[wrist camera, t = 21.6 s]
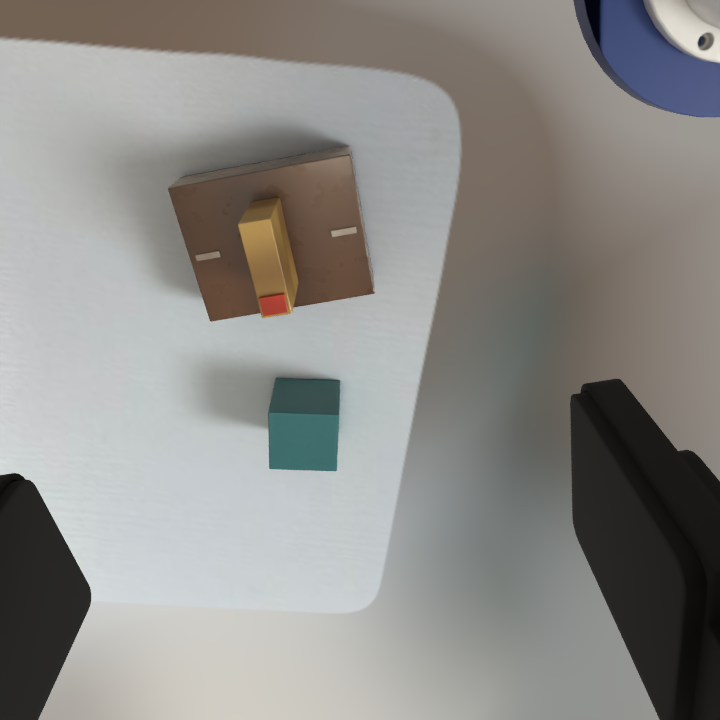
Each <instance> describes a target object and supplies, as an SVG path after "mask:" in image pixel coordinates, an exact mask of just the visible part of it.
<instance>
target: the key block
mask: <svg viewBox="0 0 720 720" xmlns="http://www.w3.org/2000/svg"><path fill="white" fill-rule="evenodd" d="M339 401H340V381H335V380H309V379H283V378H276V380H275V385H274V389H273V394H272V398H271V403H270V407H269V412H268V422H269V468H270V469H286V470H316V471H336V470H337V452H338V429H339Z"/></svg>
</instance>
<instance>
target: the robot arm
mask: <svg viewBox="0 0 720 720" xmlns="http://www.w3.org/2000/svg"><path fill="white" fill-rule="evenodd" d="M643 2H644V6H645V9H646V11H647V13H648V15H649V16H650V18H651V20H652V22H653V24H654V26H655V28H656V29H657V30H658V31H659V32H660V33H661V34H662V36H663V37H664V38H665V39H666V40H667V41H668V42H669V43H670V44H671V45H673V46H674V47H675V48H677V49H678V50H680V51H681V52H683V53H684V54H686V55H689V56H691V57H694V58H697V59H699V60H702V61H707V62H714V63H720V0H643ZM700 37H701V39H702V41H701V44H700V45H699V46H698V40H699V38H700ZM570 408H571V456H572V458H571V459H572V508H573V509H572V511H573V524H574V528H575V532H576V536H577V538H578V541H579V543H580V545H581V547H582V550H583V552H584V554H585V556H586V559H587V561H588V563H589V565H590V567H591V570H592V572H593V574H594V576H595V578H596V580H597V582H598V585H599V587H600V589H601V592H602V594H603V596H604V598H605V600H606V602H607V605H608V607H609V609H610V611H611V613H612V616H613V618H614V620H615V622H616V624H617V627H618V629H619V631H620V633H621V636H622V638H623V640H624V642H625V644H626V646H627V649H628V651H629V653H630V655H631V657H632V660H633V662H634V664H635V666H636V668H637V671H638V673H639V675H640V677H641V679H642V682H643V684H644V686H645V688H646V690H647V692H648V695H649V697H650V699H651V701H652V704H653V706H654V708H655V710H656V712H657V715H658V717H659V719H660V720H720V481H719V480H718V479H717V478H716V476H715V475H714V474H713V473H712V472H711V470H710V469H709V468H708V467H707V466H706V464H705V463H704V462H703V461H702V460H701V459H700V458H699V457H698V456H697V455H696V454H695V453H694V452H692V451H689V450H683V451H677V449H676V448H675V447H674V446H673V445H672V443H671V442H670V441H669V439H668V438H667V437H666V436H665V435H664V433H663V432H662V431H661V429H660V428H659V427H658V426H657V424H656V423H655V422H654V421H653V419H652V418H651V417H650V416H649V414H648V413H647V412H646V411H645V409H644V408H643V407H642V405H641V404H640V403H639V402H638V401H637V399H636V398H635V397H634V395H633V394H632V393H631V392H630V391H629V389H628V388H627V387H626V385H625V384H624V383H623V382H622V381H621V380H620V379H612V380H606V381H599V382H593V383H586V384H583V386H582V388H581V393H580V394H573V395H572V396H571V403H570ZM90 603H91V590H90V587H89V584H88V583H87V581H86V579H85V577H84V575H83V573H82V571H81V570H80V568H79V566H78V564H77V562H76V560H75V558H74V557H73V555H72V553H71V551H70V549H69V547H68V545H67V544H66V542H65V540H64V538H63V536H62V534H61V532H60V531H59V529H58V527H57V525H56V523H55V521H54V519H53V518H52V516H51V514H50V512H49V510H48V508H47V506H46V505H45V503H44V501H43V499H42V497H41V495H40V493H39V492H38V490H37V488H36V486H35V485H34V483H33V482H31V481H30V480H25V478H24V477H23V476H21V475H20V474H16V473H12V474H6V475H0V720H38V718H39V716H40V714H41V712H42V710H43V708H44V706H45V703H46V701H47V699H48V697H49V695H50V692H51V690H52V688H53V685H54V684H55V681H56V679H57V677H58V675H59V673H60V670H61V668H62V666H63V664H64V662H65V660H66V657H67V655H68V653H69V651H70V649H71V647H72V644H73V642H74V640H75V638H76V636H77V633H78V631H79V629H80V627H81V625H82V623H83V620H84V618H85V616H86V614H87V612H88V609H89V607H90Z"/></svg>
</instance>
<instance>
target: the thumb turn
mask: <svg viewBox="0 0 720 720" xmlns="http://www.w3.org/2000/svg"><path fill="white" fill-rule="evenodd" d="M238 227H239V231H240V235H241V239H242V243H243V246H244V250H245V254H246V258H247V262H248V266H249V269H250V273H251V277H252V281H253V285H254V289H255V292H256V296H257V300H258V304H259V308H260V312H261V315H262V318H266V317H272V316H279V315H285V314H291V313H292V311H293V307H294V302H295V297H296V292H297V288H298V283H299V282H298V277H297V273H296V268H295V264H294V259H293V255H292V250H291V246H290V241H289V237H288V233H287V228H286V224H285V219H284V215H283V210H282V206H281V201H280V198H279V197H278V198H272V199H266V200H260V201H254V202H251V203H250V205H249V207H248V208H247V210H246V212H245V213H244V215H243V217H242V218H241V220H240V222H239V223H238Z"/></svg>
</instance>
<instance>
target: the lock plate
mask: <svg viewBox="0 0 720 720" xmlns="http://www.w3.org/2000/svg"><path fill="white" fill-rule="evenodd" d="M168 190H169V193H170V197H171V200H172V203H173V206H174V209H175V212H176V215H177V219H178V222H179V225H180V228H181V231H182V234H183V237H184V240H185V244H186V247H187V250H188V253H189V256H190V259H191V262H192V266H193V269H194V272H195V275H196V278H197V281H198V284H199V288H200V291H201V294H202V297H203V300H204V303H205V306H206V310H207V313H208V316H209V319H210V321H216V320H222V319H228V318H234V317H240V316H246V315H252V314H257V313H261V312H260V308H259V304H258V300H257V296H256V292H255V289H254V285H253V281H252V277H251V273H250V269H249V266H248V262H247V258H246V254H245V250H244V246H243V243H242V239H241V235H240V231H239V227H238V223H239V222H240V220H241V218H242V217H243V215H244V213H245V212H246V210H247V208H248V207H249V205H250V203H251V202H254V201H260V200H266V199H272V198H278V197H279V198H280V201H281V206H282V210H283V215H284V219H285V224H286V228H287V233H288V237H289V241H290V246H291V250H292V255H293V259H294V264H295V268H296V273H297V277H298V282H299V283H298V288H297V292H296V297H295V302H294V307H298V306H304V305H310V304H316V303H322V302H328V301H334V300H339V299H345V298H351V297H357V296H363V295H369V294H374V293H375V289H374V279H373V272H372V266H371V260H370V255H369V249H368V243H367V237H366V232H365V226H364V220H363V215H362V209H361V203H360V198H359V192H358V186H357V181H356V175H355V169H354V164H353V158H352V152H351V147H350V146H345V147H339V148H334V149H329V150H323V151H318V152H313V153H307V154H302V155H297V156H292V157H286V158H281V159H276V160H270V161H265V162H260V163H254V164H249V165H244V166H238V167H233V168H228V169H222V170H217V171H212V172H206V173H201V174H196V175H190V176H185V177H181V178H180V179H179V180H178V181H177V182H175V183H174V184H173V185H172V186H170V187H169V188H168Z"/></svg>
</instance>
